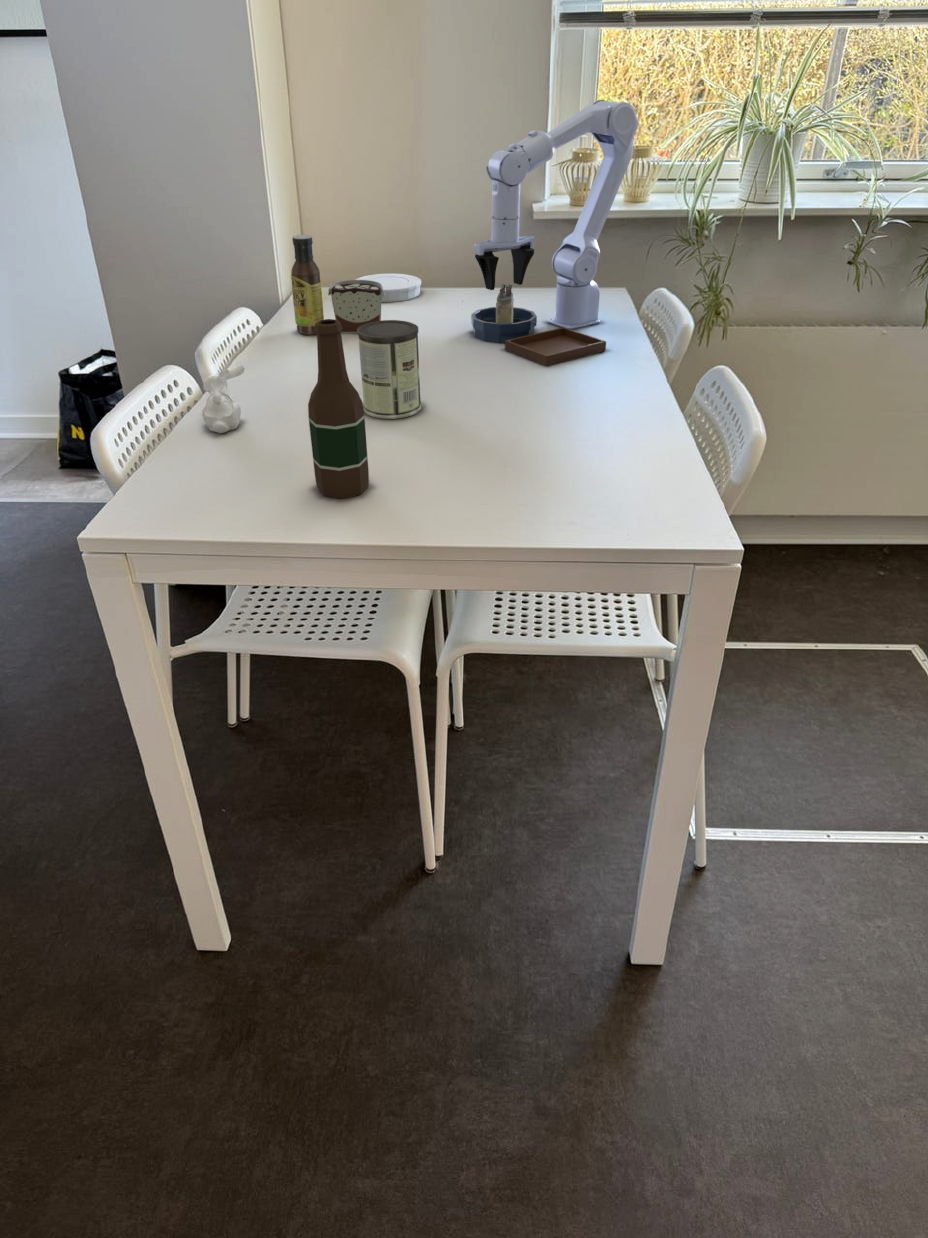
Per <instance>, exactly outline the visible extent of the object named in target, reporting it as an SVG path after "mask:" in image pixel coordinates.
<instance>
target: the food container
mask: <svg viewBox="0 0 928 1238" xmlns="http://www.w3.org/2000/svg"><path fill="white" fill-rule="evenodd" d="M382 293H383V296H385V294H384V290H383V287H382V285H381V284H380V283H378V282H375V281H369V280H356V279H350V280H349V279H347V280H341V281H338V282H334V283H331V284H330V285H329V288H328V293H327V296H330V297H331V303H332V308H333V314H334V318H335V319H334V320H338V321H339V322H341V325H342V327H343V330H342V331H341V334H357V329H358V327H360V326H361V325H364V324H366V323H370V322H375V321H382V302H381V301H382Z"/></svg>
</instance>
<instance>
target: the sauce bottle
mask: <svg viewBox="0 0 928 1238" xmlns="http://www.w3.org/2000/svg"><path fill="white" fill-rule="evenodd" d="M313 243H314V241H313V237H312V235H310V234H297V235H293V236H292V245H293V250H294V259H295V260H294V263H293V265H292V267H291V271H290V273H291V274H290V281H291V291H292V301H293V302H292V303H293V311H294V321H295V324H296V330H297V333H299V334H300V335H301V334H302V335H305V336H317V332H316V331H315V330H314V328H315V323H317V322H318V321H320V320H325V315H324V304H323V292H322V291H323V290H322V280H321V272H320V268H319V266H318V265H317V263H316V262H315V261H314V255H313Z"/></svg>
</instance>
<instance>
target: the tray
mask: <svg viewBox="0 0 928 1238" xmlns="http://www.w3.org/2000/svg"><path fill="white" fill-rule="evenodd" d="M606 348H607V341H606V340H603V339H600V338H598V337H594V336H591V335H588V334H586V333H583V332H579V331H577V330H574V329H568V328H565V327H558V328H553V329H549V330H544V331H541V332H537V333H534V334H531V335H527V336H523V337H518V338H514V339H510V340H505V343H504V351H506V352H508V353H511V354H513V355H516V356H519V357H522V358H525V359H527V360H529V361H532V362H534V363H537V364H539V365H541V366H544V367H549V366H552V365H556V364H559V363H564V362H567V361H572V360H575V359H579V358H584V357H586V356H591V355H594V354H599V353H603V352H606V350H607V349H606Z"/></svg>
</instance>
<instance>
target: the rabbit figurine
mask: <svg viewBox="0 0 928 1238" xmlns="http://www.w3.org/2000/svg"><path fill="white" fill-rule="evenodd" d="M244 373H245V366H244V364H242V363H241V364H238V365H237V366H234V367H232V368H231V369H227V368H226V369H224V370H221V372H220V373H217V374H211V375H208V376H207V377H206V378H205V380H204V382H203V390H204V391H205V392H206V393H209V395H208V396H207V398H206V402H205V404H204V405H203V406H202V409H201V412H202V417H203V421H204V423H205V425H206V426H207V428H208V429H209V431H210V432H216V433H218V434H224V433H227V432H228V431H233V430H237V428H238V426H239V425H240V418H241V413H242V410H241V405H240V404H239V403H237V402H235V397H234V396H233V394H232V393H231V391H230V389H228V388H229V387H228V383H227V381H229V380H231V379H234V378H237V377H239V376H241V375H243V374H244Z"/></svg>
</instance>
